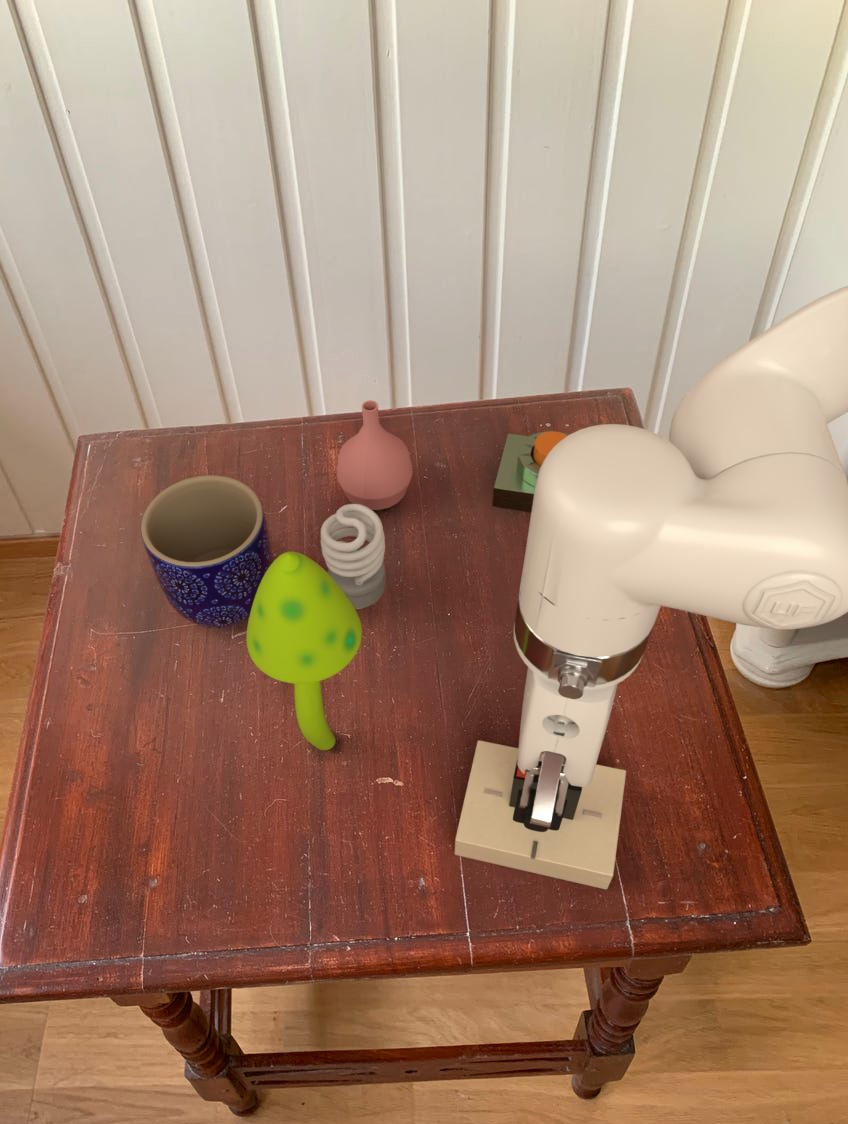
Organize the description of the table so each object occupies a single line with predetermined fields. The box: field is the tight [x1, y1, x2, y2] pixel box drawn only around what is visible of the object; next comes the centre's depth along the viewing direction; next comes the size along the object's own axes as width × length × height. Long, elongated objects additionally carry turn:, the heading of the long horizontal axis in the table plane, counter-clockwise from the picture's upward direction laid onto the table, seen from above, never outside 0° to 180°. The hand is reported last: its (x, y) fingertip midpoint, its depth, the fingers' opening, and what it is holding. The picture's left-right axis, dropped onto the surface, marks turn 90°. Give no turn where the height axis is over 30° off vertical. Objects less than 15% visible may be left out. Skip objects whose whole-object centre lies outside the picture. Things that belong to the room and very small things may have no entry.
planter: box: [140, 474, 275, 629], centre depth 86 cm, size 11×11×11 cm
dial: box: [509, 760, 582, 820], centre depth 71 cm, size 5×2×5 cm, turn 75°
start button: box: [533, 430, 567, 466], centre depth 92 cm, size 4×4×2 cm
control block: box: [492, 430, 569, 513], centre depth 95 cm, size 10×8×4 cm
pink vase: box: [336, 400, 414, 511], centre depth 92 cm, size 8×8×12 cm
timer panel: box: [454, 740, 627, 890], centre depth 74 cm, size 12×9×3 cm
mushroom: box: [245, 551, 363, 751], centre depth 70 cm, size 8×8×25 cm
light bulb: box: [320, 503, 387, 610], centre depth 84 cm, size 6×6×12 cm
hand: (546, 761), depth 67 cm, fingers open, 9 cm apart
